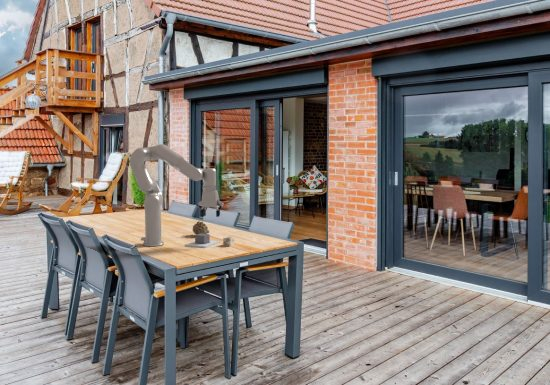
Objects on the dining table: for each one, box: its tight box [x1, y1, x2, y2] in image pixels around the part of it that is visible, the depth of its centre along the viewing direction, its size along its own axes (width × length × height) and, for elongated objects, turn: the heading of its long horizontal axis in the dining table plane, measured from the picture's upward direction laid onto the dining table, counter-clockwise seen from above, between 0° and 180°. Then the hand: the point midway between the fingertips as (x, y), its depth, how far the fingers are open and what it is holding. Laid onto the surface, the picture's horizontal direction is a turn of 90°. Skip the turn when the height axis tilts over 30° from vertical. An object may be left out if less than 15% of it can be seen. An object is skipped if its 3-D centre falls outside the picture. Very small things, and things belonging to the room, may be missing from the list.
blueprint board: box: [184, 239, 220, 249], centre depth 300 cm, size 14×18×1 cm
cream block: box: [222, 236, 235, 247], centre depth 298 cm, size 5×5×5 cm
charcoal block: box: [194, 233, 211, 244], centre depth 300 cm, size 6×6×5 cm
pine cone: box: [191, 221, 210, 235], centre depth 326 cm, size 22×10×10 cm, turn 37°
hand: (210, 216), depth 298 cm, fingers open, 9 cm apart
